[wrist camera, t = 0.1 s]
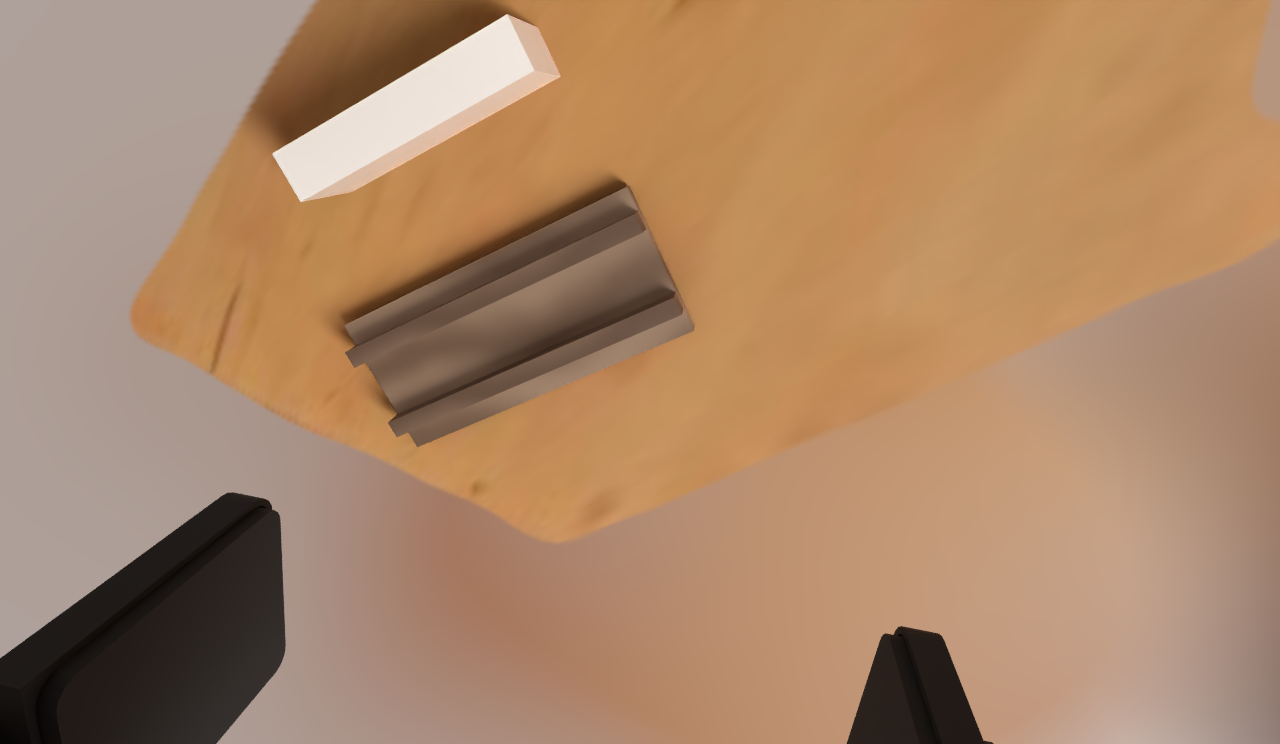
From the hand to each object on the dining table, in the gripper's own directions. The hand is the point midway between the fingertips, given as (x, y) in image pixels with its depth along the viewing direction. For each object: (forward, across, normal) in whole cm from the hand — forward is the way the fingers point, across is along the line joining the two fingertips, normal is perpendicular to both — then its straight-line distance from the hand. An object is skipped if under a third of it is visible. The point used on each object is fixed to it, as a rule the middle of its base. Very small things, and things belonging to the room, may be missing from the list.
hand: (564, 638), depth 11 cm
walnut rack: (+37, +11, +8) cm, 39 cm away
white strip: (+37, +17, -5) cm, 41 cm away
